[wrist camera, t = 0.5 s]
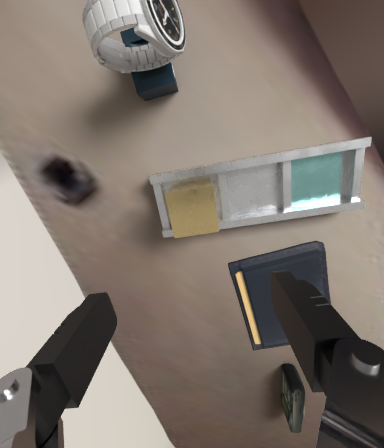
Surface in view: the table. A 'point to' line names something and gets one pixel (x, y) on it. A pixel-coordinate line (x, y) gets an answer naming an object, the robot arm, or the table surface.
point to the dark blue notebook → (261, 287)
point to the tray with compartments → (276, 184)
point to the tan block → (192, 208)
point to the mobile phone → (293, 397)
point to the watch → (138, 40)
